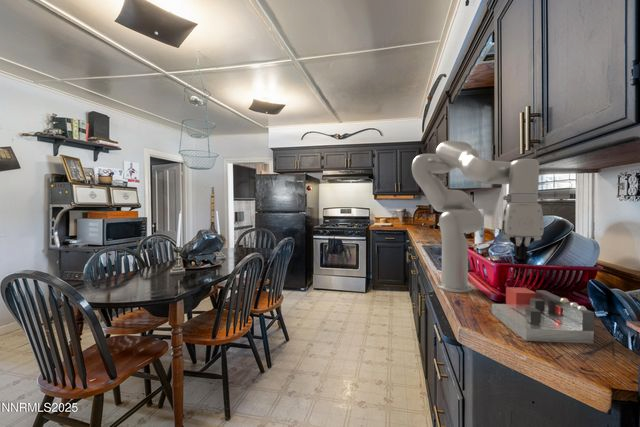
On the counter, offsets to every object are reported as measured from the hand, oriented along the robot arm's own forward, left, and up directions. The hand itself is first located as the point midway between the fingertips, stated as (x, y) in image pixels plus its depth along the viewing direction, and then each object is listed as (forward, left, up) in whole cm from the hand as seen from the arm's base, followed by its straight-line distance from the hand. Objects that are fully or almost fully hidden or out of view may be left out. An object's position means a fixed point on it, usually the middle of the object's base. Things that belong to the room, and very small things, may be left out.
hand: (520, 258), depth 91 cm
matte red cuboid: (-2, +1, -17) cm, 17 cm away
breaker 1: (+8, 0, -13) cm, 16 cm away
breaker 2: (+17, -6, -13) cm, 22 cm away
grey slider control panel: (+12, -2, -17) cm, 21 cm away
